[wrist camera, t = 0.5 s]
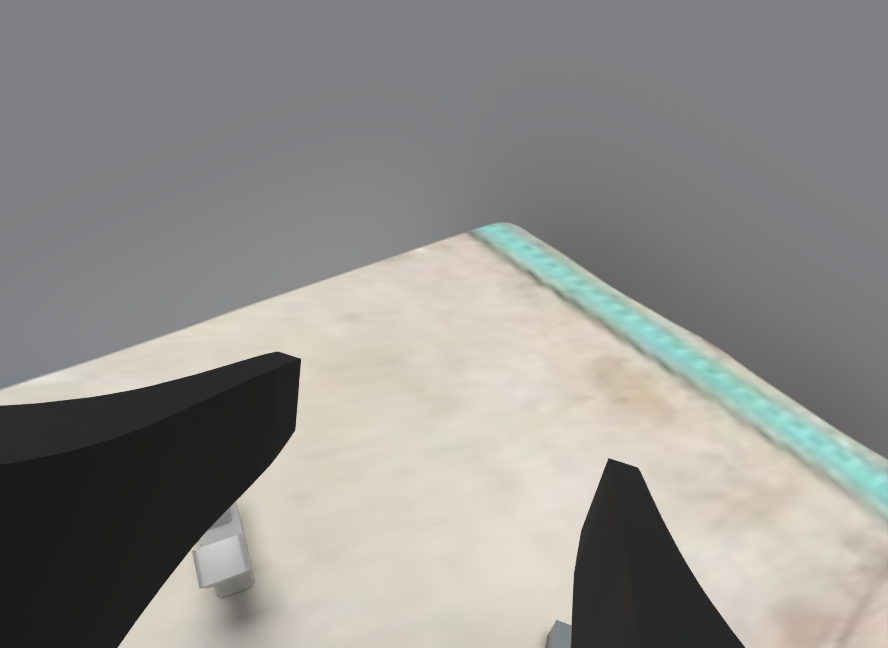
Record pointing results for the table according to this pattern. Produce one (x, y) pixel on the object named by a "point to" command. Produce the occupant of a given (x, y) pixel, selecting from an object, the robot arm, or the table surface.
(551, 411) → the table surface
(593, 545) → the robot arm
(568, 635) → the tray
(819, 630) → the table surface
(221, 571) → the lighter
